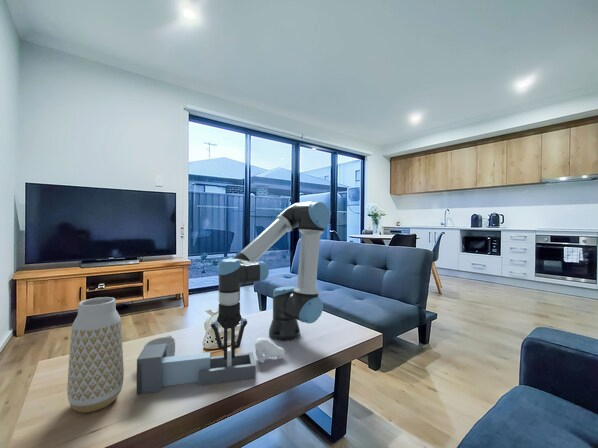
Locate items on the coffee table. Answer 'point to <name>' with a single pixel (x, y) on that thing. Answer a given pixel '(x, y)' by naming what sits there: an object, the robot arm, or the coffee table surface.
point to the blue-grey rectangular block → (183, 368)
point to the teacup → (163, 340)
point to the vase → (95, 356)
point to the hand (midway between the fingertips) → (229, 367)
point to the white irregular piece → (267, 349)
